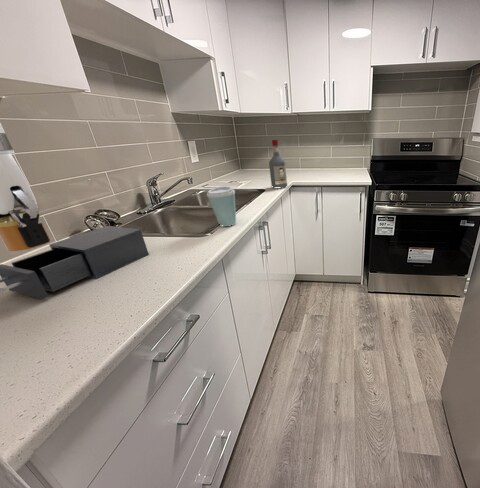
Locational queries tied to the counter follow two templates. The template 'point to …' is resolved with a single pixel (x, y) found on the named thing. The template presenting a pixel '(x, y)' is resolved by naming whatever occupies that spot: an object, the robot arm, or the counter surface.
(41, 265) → the drawer
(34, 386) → the counter surface
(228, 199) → the disposable coffee cup
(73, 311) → the counter surface
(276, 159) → the liquor
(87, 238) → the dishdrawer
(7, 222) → the jar
